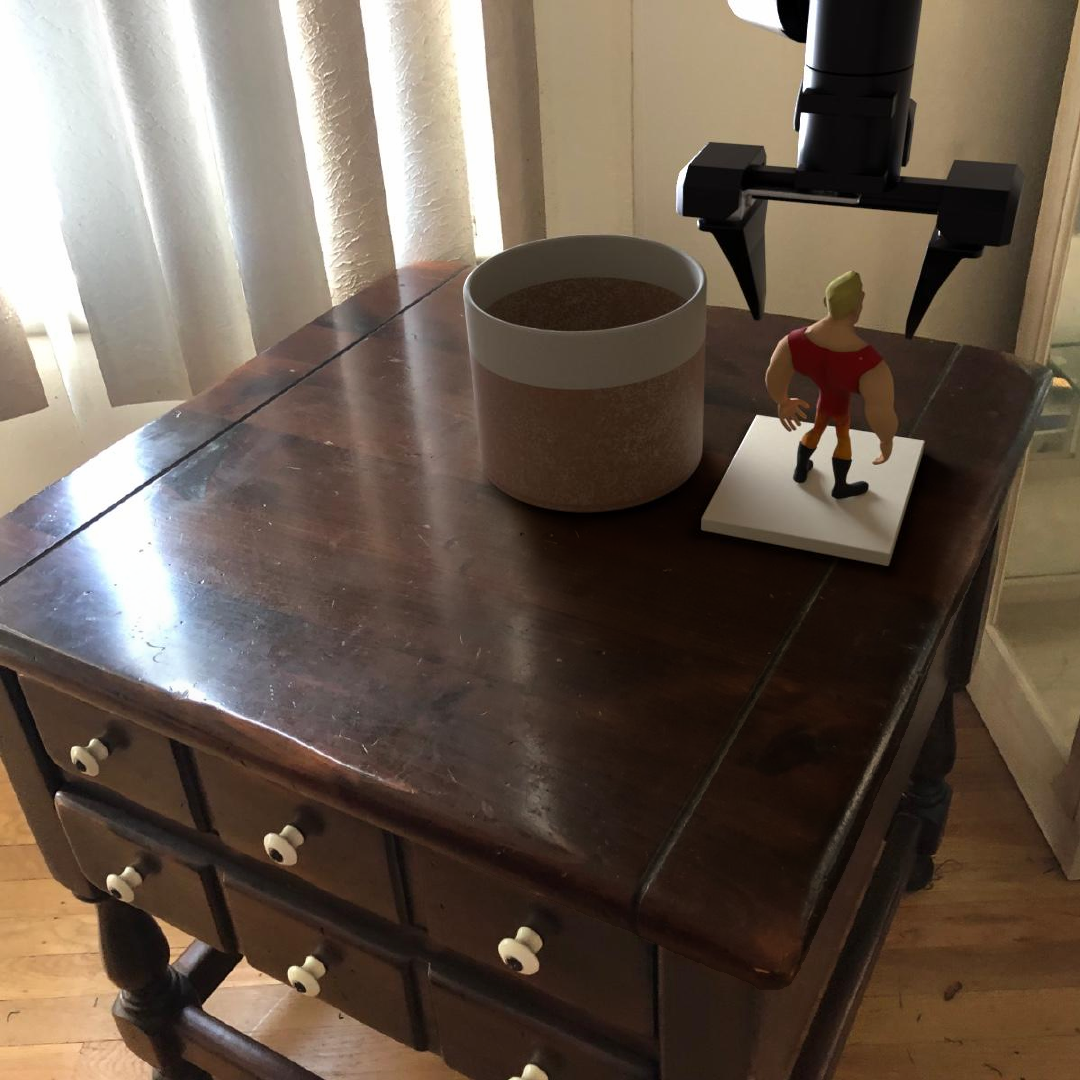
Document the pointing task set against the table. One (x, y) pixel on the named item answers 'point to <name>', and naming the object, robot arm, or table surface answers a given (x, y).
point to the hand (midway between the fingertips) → (832, 327)
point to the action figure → (835, 383)
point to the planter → (588, 369)
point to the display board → (814, 493)
